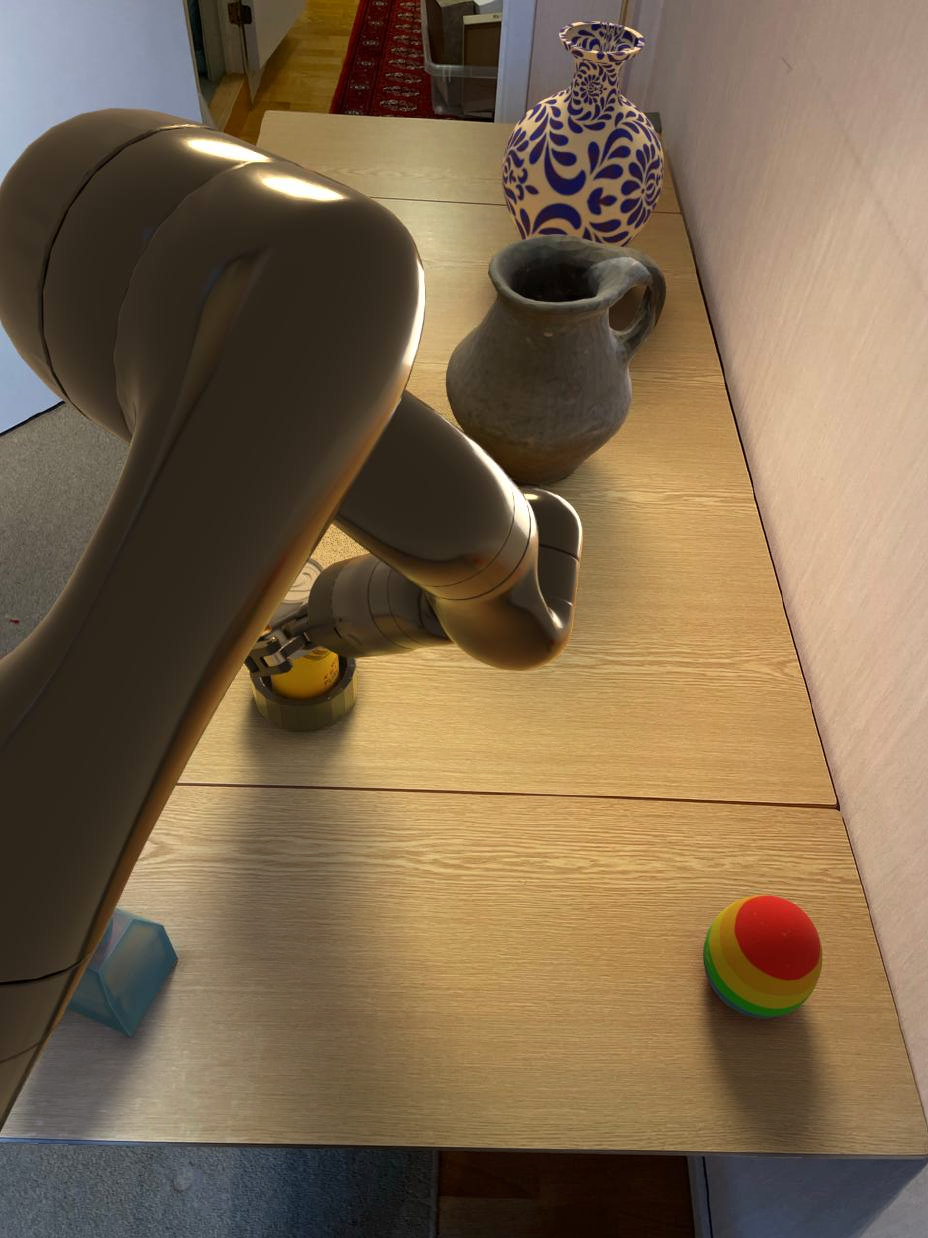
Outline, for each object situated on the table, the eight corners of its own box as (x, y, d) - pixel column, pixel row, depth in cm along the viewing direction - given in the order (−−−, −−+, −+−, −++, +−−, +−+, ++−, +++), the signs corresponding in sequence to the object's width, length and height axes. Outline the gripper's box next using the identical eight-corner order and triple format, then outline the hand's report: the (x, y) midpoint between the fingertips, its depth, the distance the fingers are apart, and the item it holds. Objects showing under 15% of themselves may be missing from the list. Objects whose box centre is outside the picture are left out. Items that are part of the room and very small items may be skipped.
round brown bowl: (361, 727, 88) (360, 701, 85) (255, 737, 87) (250, 712, 84) (353, 646, 94) (351, 619, 91) (253, 654, 93) (248, 627, 90)
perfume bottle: (57, 1003, 71) (7, 938, 62) (107, 927, 75) (67, 855, 66) (130, 1037, 70) (90, 976, 61) (178, 958, 74) (147, 889, 65)
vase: (613, 324, 132) (659, 88, 109) (469, 280, 137) (484, 46, 114) (662, 252, 145) (712, 28, 122) (528, 214, 150) (552, -7, 127)
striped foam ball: (681, 1002, 74) (713, 951, 66) (708, 908, 79) (741, 850, 71) (788, 1050, 72) (834, 1002, 64) (809, 950, 77) (854, 895, 69)
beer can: (342, 712, 88) (334, 603, 77) (274, 719, 87) (255, 609, 76) (337, 659, 92) (329, 547, 81) (272, 666, 91) (254, 553, 80)
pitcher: (436, 399, 119) (443, 200, 100) (610, 397, 122) (650, 201, 103) (449, 516, 106) (461, 313, 87) (645, 511, 108) (698, 312, 89)
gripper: (422, 511, 74) (326, 541, 87) (277, 613, 66) (196, 629, 80) (471, 595, 75) (369, 612, 89) (334, 703, 68) (246, 704, 82)
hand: (288, 620), depth 84 cm, fingers open, 8 cm apart
